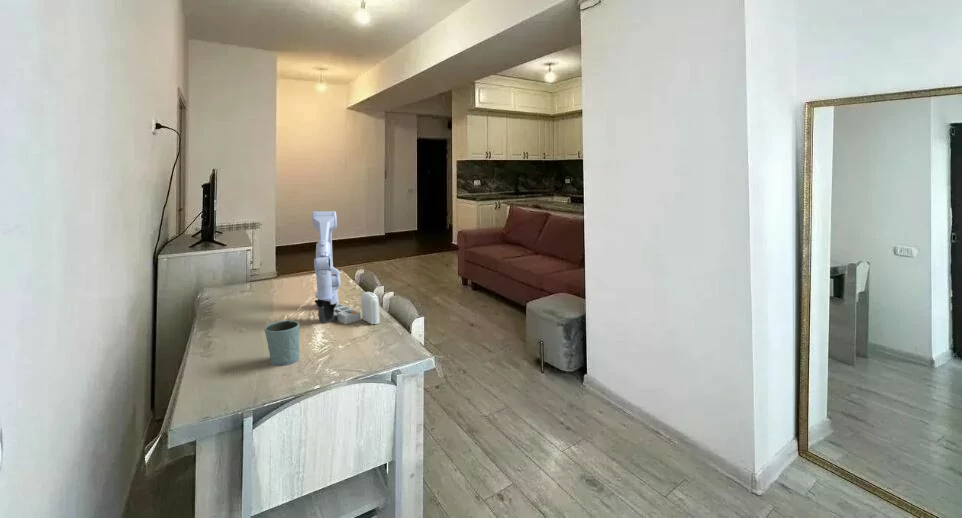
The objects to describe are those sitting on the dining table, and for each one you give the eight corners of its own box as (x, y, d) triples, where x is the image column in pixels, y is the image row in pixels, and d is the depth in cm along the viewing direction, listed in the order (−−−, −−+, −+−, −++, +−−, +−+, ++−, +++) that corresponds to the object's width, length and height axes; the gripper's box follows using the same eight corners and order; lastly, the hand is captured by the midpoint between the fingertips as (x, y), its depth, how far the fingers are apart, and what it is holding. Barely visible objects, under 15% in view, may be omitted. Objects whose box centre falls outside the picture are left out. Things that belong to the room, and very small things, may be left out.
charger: (319, 321, 182) (318, 306, 181) (335, 317, 187) (334, 303, 186) (324, 323, 179) (323, 309, 178) (340, 319, 184) (339, 305, 183)
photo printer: (360, 319, 184) (359, 290, 182) (370, 317, 187) (369, 289, 185) (371, 325, 176) (370, 296, 174) (381, 323, 179) (380, 294, 177)
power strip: (324, 314, 190) (324, 305, 190) (339, 311, 195) (339, 302, 195) (345, 324, 178) (344, 314, 177) (360, 320, 183) (360, 311, 182)
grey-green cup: (306, 354, 148) (303, 320, 146) (294, 367, 138) (291, 330, 136) (275, 354, 148) (272, 320, 145) (262, 367, 138) (258, 331, 135)
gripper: (342, 287, 177) (344, 319, 179) (325, 281, 187) (327, 311, 189) (325, 290, 172) (327, 323, 174) (309, 283, 182) (311, 315, 184)
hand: (326, 317), depth 181 cm, fingers closed on charger, 4 cm apart
